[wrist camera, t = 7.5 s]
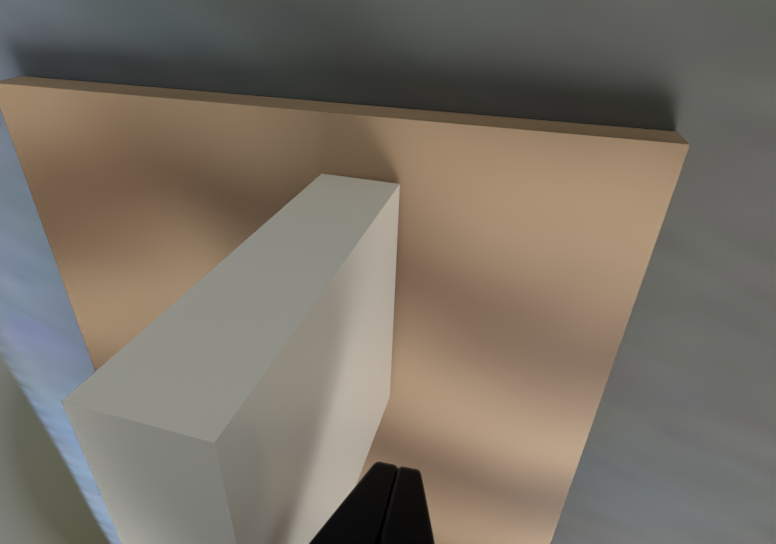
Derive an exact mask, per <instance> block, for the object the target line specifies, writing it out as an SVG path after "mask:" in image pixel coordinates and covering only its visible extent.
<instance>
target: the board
mask: <svg viewBox="0 0 776 544" xmlns="http://www.w3.org/2000/svg"><path fill="white" fill-rule="evenodd" d="M0 108H1V111H2V114H3V116H4V119H5V122H6V125H7V127H8V130H9V133H10V136H11V139H12V141H13V144H14V147H15V150H16V152H17V155H18V158H19V161H20V164H21V166H22V169H23V172H24V175H25V177H26V180H27V183H28V186H29V189H30V191H31V194H32V197H33V200H34V202H35V205H36V208H37V211H38V214H39V216H40V219H41V222H42V225H43V227H44V230H45V233H46V236H47V239H48V241H49V244H50V247H51V250H52V252H53V255H54V258H55V261H56V264H57V266H58V269H59V272H60V275H61V277H62V280H63V283H64V286H65V289H66V291H67V294H68V297H69V300H70V302H71V305H72V308H73V311H74V314H75V316H76V319H77V322H78V325H79V327H80V330H81V333H82V336H83V339H84V341H85V344H86V347H87V350H88V352H89V355H90V358H91V361H92V364H93V366H94V369H95V372H96V371H97V370H98V369H99V368H100V367H101V366H102V365H104V364H105V363H106V362H107V361H108V360H109V359H110V358H112V357H113V356H114V355H115V354H116V353H117V352H118V351H120V350H121V349H122V348H123V347H124V346H125V345H126V344H128V343H129V342H130V341H131V340H132V339H133V338H134V337H136V336H137V335H138V334H139V333H140V332H141V331H142V330H144V329H145V328H146V327H147V326H148V325H149V324H150V323H152V322H153V321H154V320H155V319H156V318H157V317H158V316H160V315H161V314H162V313H163V312H164V311H165V310H166V309H168V308H169V307H170V306H171V305H172V304H173V303H174V302H176V301H177V300H178V299H179V298H180V297H181V296H182V295H184V294H185V293H186V292H187V291H188V290H189V289H190V288H192V287H193V286H194V285H195V284H196V283H197V282H198V281H200V280H201V279H202V278H203V277H204V276H205V275H206V274H208V273H209V272H210V271H211V270H212V269H213V268H214V267H216V266H217V265H218V264H219V263H220V262H221V261H222V260H224V259H225V258H226V257H227V256H228V255H229V254H230V253H232V252H233V251H234V250H235V249H236V248H237V247H238V246H240V245H241V244H242V243H243V242H244V241H245V240H246V239H248V238H249V237H250V236H251V235H252V234H253V233H254V232H256V231H257V230H258V229H259V228H260V227H261V226H262V225H264V224H265V223H266V222H267V221H268V220H269V219H270V218H272V217H273V216H274V215H275V214H276V213H277V212H278V211H280V210H281V209H282V208H283V207H284V206H285V205H286V204H288V203H289V202H290V201H291V200H292V199H293V198H294V197H296V196H297V195H298V194H299V193H300V192H301V191H302V190H304V189H305V188H306V187H307V186H308V185H309V184H310V183H312V182H313V181H314V180H315V179H316V178H317V177H318V176H320V175H321V174H329V175H337V176H344V177H352V178H359V179H367V180H374V181H382V182H389V183H397V184H400V194H399V215H398V236H397V257H396V278H395V300H394V321H393V342H392V363H391V384H390V397H389V400H388V403H387V405H386V408H385V410H384V413H383V416H382V418H381V421H380V423H379V426H378V429H377V431H376V434H375V437H374V439H373V442H372V444H371V447H370V450H369V452H368V455H367V458H366V460H365V463H364V465H363V468H362V471H361V473H360V476H359V479H358V481H357V483H358V482H359V481H360V480H361V478H362V477H363V476H364V475H365V474H366V472H367V471H368V470H369V469H370V467H371V466H372V465H373V464H374V463H375V462H377V461H381V462H385V463H390V464H394V465H396V466H397V468H399V467H400V466H405V467H409V468H414V469H418V470H419V471H420V472H421V474H422V479H423V484H424V490H425V495H426V500H427V505H428V510H429V516H430V521H431V526H432V531H433V536H434V541H435V544H550V543H551V541H552V538H553V535H554V532H555V529H556V526H557V523H558V521H559V518H560V515H561V512H562V509H563V506H564V503H565V501H566V498H567V495H568V492H569V489H570V486H571V483H572V481H573V478H574V475H575V472H576V469H577V466H578V463H579V461H580V458H581V455H582V452H583V449H584V446H585V443H586V440H587V438H588V435H589V432H590V429H591V426H592V423H593V420H594V418H595V415H596V412H597V409H598V406H599V403H600V400H601V398H602V395H603V392H604V389H605V386H606V383H607V380H608V378H609V375H610V372H611V369H612V366H613V363H614V360H615V358H616V355H617V352H618V349H619V346H620V343H621V340H622V337H623V335H624V332H625V329H626V326H627V323H628V320H629V317H630V315H631V312H632V309H633V306H634V303H635V300H636V297H637V295H638V292H639V289H640V286H641V283H642V280H643V277H644V275H645V272H646V269H647V266H648V263H649V260H650V257H651V255H652V252H653V249H654V246H655V243H656V240H657V237H658V235H659V232H660V229H661V226H662V223H663V220H664V217H665V214H666V212H667V209H668V206H669V203H670V200H671V197H672V194H673V192H674V189H675V186H676V183H677V180H678V177H679V174H680V172H681V169H682V166H683V163H684V160H685V157H686V154H687V152H688V149H689V146H690V144H689V143H688V142H687V141H686V140H685V139H684V138H683V137H682V136H681V135H680V134H679V133H678V132H676V131H664V130H652V129H640V128H629V127H617V126H605V125H593V124H582V123H570V122H558V121H546V120H534V119H523V118H511V117H499V116H487V115H476V114H464V113H452V112H440V111H428V110H417V109H405V108H393V107H381V106H370V105H358V104H346V103H334V102H322V101H311V100H299V99H287V98H275V97H264V96H252V95H240V94H228V93H216V92H205V91H193V90H181V89H169V88H158V87H146V86H134V85H122V84H110V83H99V82H87V81H75V80H63V79H52V78H40V77H28V76H21V77H16V78H11V79H7V80H2V81H0ZM356 485H357V484H356Z"/></svg>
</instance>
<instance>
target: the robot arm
mask: <svg viewBox="0 0 776 544" xmlns="http://www.w3.org/2000/svg"><path fill="white" fill-rule="evenodd" d="M309 544H435V541H434V536H433V531H432V526H431V521H430V516H429V510H428V505H427V500H426V495H425V490H424V484H423V479H422V474H421V472H420V471H419V470H418V469H414V468H409V467H405V466H400V467H399V468H397V466H396V465H394V464H390V463H385V462H381V461H377V462H375V463H374V464H373V465H372V466H371V467H370V469H369V470H368V471H367V472H366V474H365V475H364V476H363V477H362V478H361V480H360V481H359V482H358V483H357V485H356V486H355V487H354V488H353V490H352V491H351V492H350V493H349V495H348V496H347V497H346V498H345V499H344V501H343V502H342V503H341V504H340V506H339V507H338V508H337V509H336V511H335V512H334V513H333V514H332V516H331V517H330V518H329V519H328V520H327V522H326V523H325V524H324V525H323V527H322V528H321V529H320V530H319V532H318V533H317V534H316V535H315V537H314V538H313V539H312V540H311V541H310V543H309Z"/></svg>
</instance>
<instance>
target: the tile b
mask: <svg viewBox="0 0 776 544" xmlns="http://www.w3.org/2000/svg"><path fill="white" fill-rule="evenodd" d="M399 194H400V184H397V183H389V182H382V181H374V180H367V179H359V178H352V177H344V176H337V175H329V174H321V175H320V176H318V177H317V178H316V179H315V180H314V181H313V182H312V183H310V184H309V185H308V186H307V187H306V188H305V189H304V190H302V191H301V192H300V193H299V194H298V195H297V196H296V197H294V198H293V199H292V200H291V201H290V202H289V203H288V204H286V205H285V206H284V207H283V208H282V209H281V210H280V211H278V212H277V213H276V214H275V215H274V216H273V217H272V218H270V219H269V220H268V221H267V222H266V223H265V224H264V225H262V226H261V227H260V228H259V229H258V230H257V231H256V232H254V233H253V234H252V235H251V236H250V237H249V238H248V239H246V240H245V241H244V242H243V243H242V244H241V245H240V246H238V247H237V248H236V249H235V250H234V251H233V252H232V253H230V254H229V255H228V256H227V257H226V258H225V259H224V260H222V261H221V262H220V263H219V264H218V265H217V266H216V267H214V268H213V269H212V270H211V271H210V272H209V273H208V274H206V275H205V276H204V277H203V278H202V279H201V280H200V281H198V282H197V283H196V284H195V285H194V286H193V287H192V288H190V289H189V290H188V291H187V292H186V293H185V294H184V295H182V296H181V297H180V298H179V299H178V300H177V301H176V302H174V303H173V304H172V305H171V306H170V307H169V308H168V309H166V310H165V311H164V312H163V313H162V314H161V315H160V316H158V317H157V318H156V319H155V320H154V321H153V322H152V323H150V324H149V325H148V326H147V327H146V328H145V329H144V330H142V331H141V332H140V333H139V334H138V335H137V336H136V337H134V338H133V339H132V340H131V341H130V342H129V343H128V344H126V345H125V346H124V347H123V348H122V349H121V350H120V351H118V352H117V353H116V354H115V355H114V356H113V357H112V358H110V359H109V360H108V361H107V362H106V363H105V364H104V365H102V366H101V367H100V368H99V369H98V370H97V371H96V372H94V373H93V374H92V375H91V376H90V377H89V378H88V379H86V380H85V381H84V382H83V383H82V384H81V385H80V386H78V387H77V388H76V389H75V390H74V391H73V392H72V393H70V394H69V395H68V396H67V397H66V398H65V399H64V400H62V401H61V402H62V404H63V407H64V409H65V411H66V414H67V416H68V418H69V421H70V423H71V426H72V428H73V430H74V433H75V435H76V437H77V440H78V442H79V444H80V447H81V449H82V451H83V454H84V456H85V459H86V461H87V463H88V466H89V468H90V470H91V473H92V475H93V477H94V480H95V482H96V484H97V487H98V489H99V491H100V494H101V496H102V499H103V501H104V503H105V506H106V508H107V510H108V513H109V515H110V517H111V520H112V522H113V524H114V527H115V529H116V532H117V534H118V536H119V539H120V541H121V543H122V544H309V543H310V541H311V540H312V539H313V538H314V537H315V535H316V534H317V533H318V532H319V530H320V529H321V528H322V527H323V525H324V524H325V523H326V522H327V520H328V519H329V518H330V517H331V516H332V514H333V513H334V512H335V511H336V509H337V508H338V507H339V506H340V504H341V503H342V502H343V501H344V499H345V498H346V497H347V496H348V495H349V493H350V492H351V491H352V490H353V488H354V487H355V486H356V484H357V481H358V479H359V476H360V473H361V471H362V468H363V465H364V463H365V460H366V458H367V455H368V452H369V450H370V447H371V444H372V442H373V439H374V437H375V434H376V431H377V429H378V426H379V423H380V421H381V418H382V416H383V413H384V410H385V408H386V405H387V403H388V400H389V397H390V384H391V363H392V342H393V321H394V300H395V278H396V257H397V236H398V215H399Z"/></svg>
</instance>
